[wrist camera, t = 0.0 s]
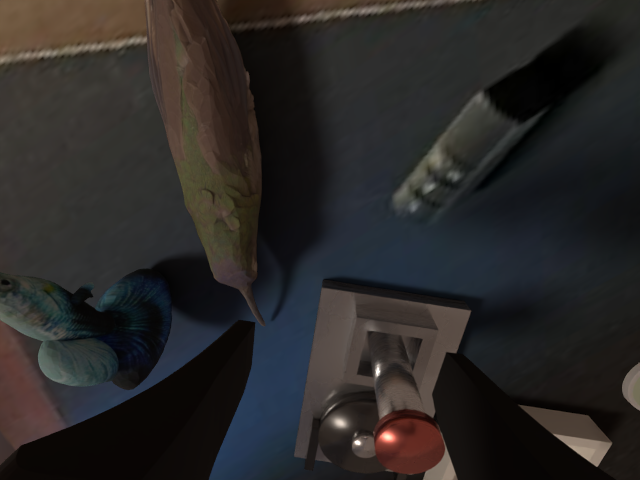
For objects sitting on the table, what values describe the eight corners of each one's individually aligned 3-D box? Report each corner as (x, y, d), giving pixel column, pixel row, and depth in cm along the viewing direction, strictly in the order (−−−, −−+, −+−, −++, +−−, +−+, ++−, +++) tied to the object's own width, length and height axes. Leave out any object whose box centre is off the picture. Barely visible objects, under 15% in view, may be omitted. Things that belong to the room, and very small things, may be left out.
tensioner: (409, 460, 27) (418, 498, 24) (296, 442, 27) (291, 479, 24) (464, 301, 22) (483, 326, 19) (322, 279, 22) (320, 301, 19)
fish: (161, 207, 21) (14, 271, 11) (201, 334, 24) (113, 467, 15) (101, 214, 21) (-90, 283, 12) (148, 339, 24) (29, 471, 15)
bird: (131, -111, 15) (42, -217, 11) (233, -129, 15) (186, -246, 10) (228, 323, 24) (201, 371, 19) (295, 319, 23) (285, 368, 19)
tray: (525, 523, 29) (540, 555, 27) (412, 506, 29) (418, 536, 27) (588, 415, 25) (612, 443, 22) (454, 394, 25) (466, 420, 22)
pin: (402, 364, 22) (434, 478, 15) (358, 357, 22) (369, 468, 15) (413, 327, 21) (453, 430, 14) (367, 319, 21) (382, 419, 14)
